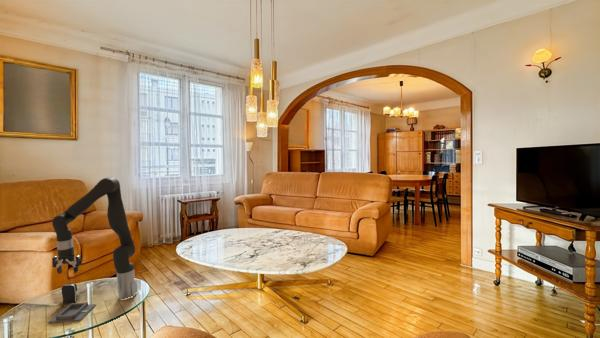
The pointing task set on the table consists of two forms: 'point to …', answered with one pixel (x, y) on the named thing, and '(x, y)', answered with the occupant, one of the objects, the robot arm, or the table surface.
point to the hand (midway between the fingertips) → (68, 272)
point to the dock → (72, 313)
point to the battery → (69, 293)
